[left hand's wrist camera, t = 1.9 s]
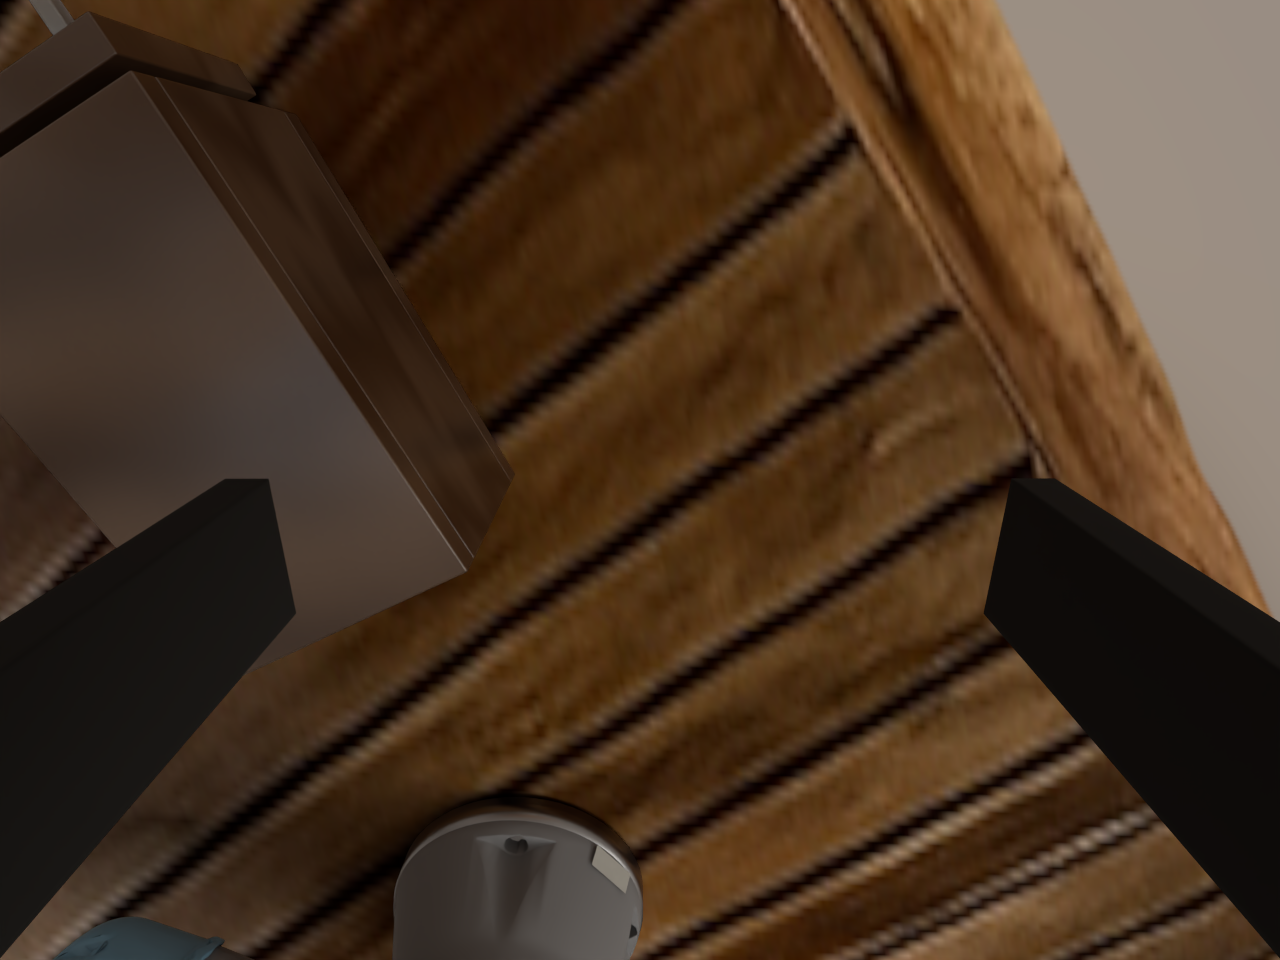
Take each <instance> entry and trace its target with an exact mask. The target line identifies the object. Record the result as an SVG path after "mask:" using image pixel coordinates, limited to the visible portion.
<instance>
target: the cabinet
mask: <svg viewBox="0 0 1280 960" xmlns="http://www.w3.org/2000/svg"><path fill="white" fill-rule="evenodd" d="M0 415H1V416H2V417H3V418H4V419H5V421H6V422H7V423H8V424H9V425H10V426H11V427H12V429H13V430H14V431H15V432H16V433H17V434H18V436H19V437H20V438H21V439H22V440H23V441H24V442H25V444H26V445H27V446H28V447H29V448H30V449H31V451H32V452H33V453H34V454H35V455H36V456H37V457H38V459H39V460H40V461H41V462H42V463H43V464H44V466H45V467H46V468H47V469H48V470H49V471H50V472H51V474H52V475H53V476H54V477H55V478H56V479H57V481H58V482H59V483H60V484H61V485H62V486H63V487H64V489H65V490H66V491H67V492H68V493H69V494H70V495H71V497H72V498H73V499H74V500H75V501H76V502H77V504H78V505H79V506H80V507H81V508H82V509H83V510H84V512H85V513H86V514H87V515H88V516H89V517H90V519H91V520H92V521H93V522H94V523H95V524H96V525H97V527H98V528H99V529H100V530H101V531H102V532H103V534H104V535H105V536H106V537H107V538H108V539H109V540H110V542H111V543H112V544H113V545H114V546H115V547H116V548H117V547H119V546H120V545H122V544H124V543H125V542H127V541H128V540H130V539H131V538H133V537H135V536H136V535H138V534H139V533H141V532H142V531H144V530H146V529H147V528H149V527H150V526H152V525H153V524H155V523H156V522H158V521H160V520H161V519H163V518H164V517H166V516H167V515H169V514H171V513H172V512H174V511H175V510H177V509H178V508H180V507H182V506H183V505H185V504H186V503H188V502H189V501H191V500H192V499H194V498H196V497H197V496H199V495H200V494H202V493H203V492H205V491H207V490H208V489H210V488H211V487H213V486H214V485H216V484H218V483H219V482H221V481H222V480H224V479H269V483H270V488H271V493H272V498H273V503H274V508H275V512H276V517H277V522H278V527H279V532H280V537H281V542H282V546H283V551H284V556H285V561H286V566H287V571H288V576H289V580H290V585H291V590H292V595H293V600H294V605H295V610H296V614H295V616H294V617H293V618H292V619H291V620H290V621H289V623H288V624H287V625H286V626H285V627H284V628H283V630H282V631H281V632H280V633H279V634H278V635H277V637H276V638H275V639H274V640H273V641H272V642H271V644H270V645H269V646H268V647H267V648H266V649H265V651H264V652H263V653H262V654H261V655H260V656H259V657H258V659H257V660H256V661H255V662H254V663H253V664H252V666H251V667H250V668H249V669H248V670H247V671H246V673H245V674H248V673H250V672H252V671H254V670H256V669H258V668H261V667H263V666H265V665H267V664H269V663H271V662H274V661H276V660H278V659H280V658H282V657H284V656H286V655H289V654H291V653H293V652H295V651H297V650H299V649H302V648H304V647H306V646H308V645H310V644H312V643H314V642H317V641H319V640H321V639H323V638H325V637H327V636H330V635H332V634H334V633H336V632H338V631H340V630H343V629H345V628H347V627H349V626H351V625H353V624H355V623H358V622H360V621H362V620H364V619H366V618H368V617H371V616H373V615H375V614H377V613H379V612H381V611H383V610H386V609H388V608H390V607H392V606H394V605H396V604H399V603H401V602H403V601H405V600H407V599H409V598H412V597H414V596H416V595H418V594H420V593H422V592H424V591H427V590H429V589H431V588H433V587H435V586H437V585H440V584H442V583H444V582H446V581H448V580H450V579H453V578H455V577H457V576H459V575H461V574H463V573H465V572H467V571H468V569H469V567H470V565H471V563H472V561H473V558H474V557H475V555H476V553H477V551H478V549H479V547H480V545H481V543H482V541H483V539H484V537H485V535H486V533H487V531H488V528H489V526H490V524H491V522H492V520H493V518H494V516H495V514H496V512H497V510H498V508H499V506H500V504H501V502H502V500H503V498H504V496H505V494H506V491H507V489H508V487H509V485H510V483H511V481H512V479H513V477H514V475H515V474H514V472H513V470H512V469H511V467H510V465H509V464H508V462H507V460H506V459H505V457H504V455H503V454H502V452H501V451H500V449H499V447H498V446H497V444H496V442H495V441H494V439H493V437H492V436H491V434H490V432H489V431H488V429H487V428H486V426H485V424H484V423H483V421H482V419H481V418H480V416H479V414H478V413H477V411H476V409H475V408H474V406H473V405H472V403H471V401H470V400H469V398H468V396H467V395H466V393H465V391H464V390H463V388H462V386H461V385H460V383H459V382H458V380H457V378H456V377H455V375H454V373H453V372H452V370H451V368H450V367H449V365H448V363H447V362H446V360H445V359H444V357H443V355H442V354H441V352H440V350H439V349H438V347H437V345H436V344H435V342H434V340H433V339H432V337H431V336H430V334H429V332H428V331H427V329H426V327H425V326H424V324H423V322H422V321H421V319H420V317H419V316H418V314H417V313H416V311H415V309H414V308H413V306H412V304H411V303H410V301H409V299H408V298H407V296H406V294H405V293H404V291H403V290H402V288H401V286H400V285H399V283H398V281H397V280H396V278H395V276H394V275H393V273H392V271H391V270H390V268H389V267H388V265H387V263H386V262H385V260H384V258H383V257H382V255H381V253H380V252H379V250H378V248H377V247H376V245H375V244H374V242H373V240H372V239H371V237H370V235H369V234H368V232H367V230H366V229H365V227H364V225H363V224H362V222H361V221H360V219H359V217H358V216H357V214H356V212H355V211H354V209H353V207H352V206H351V204H350V202H349V201H348V199H347V198H346V196H345V194H344V193H343V191H342V189H341V188H340V186H339V184H338V183H337V181H336V179H335V178H334V176H333V175H332V173H331V171H330V170H329V168H328V166H327V165H326V163H325V161H324V160H323V158H322V156H321V155H320V153H319V152H318V150H317V148H316V147H315V145H314V143H313V142H312V140H311V138H310V137H309V135H308V133H307V132H306V130H305V129H304V127H303V125H302V124H301V122H300V120H299V119H298V117H297V115H295V114H292V113H289V112H285V111H281V110H278V109H274V108H270V107H266V106H263V105H259V104H255V103H252V102H248V101H244V100H240V99H237V98H233V97H229V96H226V95H222V94H218V93H214V92H211V91H207V90H203V89H200V88H196V87H192V86H189V85H185V84H181V83H177V82H174V81H170V80H166V79H163V78H159V77H153V76H150V75H147V74H143V73H139V72H136V71H128V72H127V73H125V74H124V75H122V76H121V77H120V78H118V79H117V80H115V81H114V82H112V83H111V84H109V85H108V86H106V87H105V88H103V89H102V90H100V91H99V92H97V93H96V94H94V95H93V96H91V97H90V98H88V99H87V100H85V101H84V102H82V103H81V104H79V105H78V106H76V107H75V108H73V109H72V110H70V111H69V112H67V113H66V114H64V115H63V116H62V117H60V118H59V119H57V120H56V121H54V122H53V123H51V124H50V125H48V126H47V127H45V128H44V129H42V130H41V131H39V132H38V133H36V134H35V135H33V136H32V137H30V138H29V139H27V140H26V141H24V142H23V143H21V144H20V145H18V146H17V147H15V148H14V149H12V150H11V151H9V152H8V153H6V154H5V155H3V156H2V157H1V158H0ZM245 674H244V675H245Z"/></svg>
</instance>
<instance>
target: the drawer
mask: <svg viewBox="0 0 1280 960" xmlns="http://www.w3.org/2000/svg"><path fill="white" fill-rule="evenodd" d="M29 1H30V3H31V4H32V6H33V7H34V8H35V10H36V11H37V13H38V14H39V16H40V17H41V18H42V20H43V21H44V23H45V24H46V26H47V27H48V28H49V30H50V31H51V33H52V34H53V36H52V37H50V38H49V39H47V40H46V41H45V42H43V43H42V44H40V45H39V46H37V47H36V48H35V49H33V50H32V51H30V52H29V53H27V54H26V55H25V56H23V57H22V58H20V59H19V60H18V61H16V62H15V63H13V64H12V65H10V66H9V67H8V68H6V69H5V70H3V71H2V72H0V158H1V157H2V156H3V155H5V154H6V153H8V152H9V151H11V150H12V149H14V148H15V147H17V146H18V145H20V144H21V143H23V142H24V141H26V140H27V139H29V138H30V137H32V136H33V135H35V134H36V133H38V132H39V131H41V130H42V129H44V128H45V127H47V126H48V125H50V124H51V123H53V122H54V121H56V120H57V119H59V118H60V117H62V116H63V115H64V114H66V113H67V112H69V111H70V110H72V109H73V108H75V107H76V106H78V105H79V104H81V103H82V102H84V101H85V100H87V99H88V98H90V97H91V96H93V95H94V94H96V93H97V92H99V91H100V90H102V89H103V88H105V87H106V86H108V85H109V84H111V83H112V82H114V81H115V80H117V79H118V78H120V77H121V76H122V75H124V74H125V73H127V72H128V71H136V72H139V73H143V74H147V75H150V76H153V77H159V78H163V79H166V80H170V81H174V82H177V83H181V84H185V85H189V86H192V87H196V88H200V89H203V90H207V91H211V92H214V93H218V94H222V95H226V96H229V97H233V98H237V99H240V100H244V101H248V100H249V99H251V98H252V97H254V96H255V95H256V93H255V91H254V90H253V88H252V87H251V85H250V83H249V82H248V80H247V79H246V77H245V75H244V74H243V72H242V70H241V69H240V67H239V66H238V64H236V63H233V62H230V61H227V60H224V59H221V58H219V57H216V56H213V55H210V54H207V53H205V52H202V51H199V50H196V49H193V48H190V47H188V46H185V45H182V44H179V43H176V42H174V41H171V40H168V39H165V38H162V37H159V36H157V35H154V34H151V33H148V32H145V31H142V30H140V29H137V28H134V27H131V26H128V25H126V24H123V23H120V22H117V21H114V20H111V19H109V18H106V17H103V16H100V15H97V14H95V13H92V12H86V13H85V14H83V15H82V16H80V17H79V18H77V19H76V20H75V21H74V19H73V18H72V16H71V15H70V13H69V12H68V11H67V9H66V8H65V6H64V5H63V3H62V2H61V0H29Z"/></svg>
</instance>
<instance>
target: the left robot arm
mask: <svg viewBox="0 0 1280 960" xmlns="http://www.w3.org/2000/svg"><path fill="white" fill-rule="evenodd" d="M295 614H296V610H295V605H294V600H293V595H292V590H291V585H290V580H289V576H288V571H287V566H286V561H285V556H284V551H283V546H282V542H281V537H280V532H279V527H278V522H277V517H276V512H275V508H274V503H273V498H272V493H271V488H270V483H269V479H224V480H222V481H221V482H219V483H218V484H216V485H214V486H213V487H211V488H210V489H208V490H207V491H205V492H203V493H202V494H200V495H199V496H197V497H196V498H194V499H192V500H191V501H189V502H188V503H186V504H185V505H183V506H182V507H180V508H178V509H177V510H175V511H174V512H172V513H171V514H169V515H167V516H166V517H164V518H163V519H161V520H160V521H158V522H156V523H155V524H153V525H152V526H150V527H149V528H147V529H146V530H144V531H142V532H141V533H139V534H138V535H136V536H135V537H133V538H131V539H130V540H128V541H127V542H125V543H124V544H122V545H120V546H119V547H117V548H116V549H114V550H113V551H111V552H110V553H108V554H106V555H105V556H103V557H102V558H100V559H99V560H97V561H95V562H94V563H92V564H91V565H89V566H88V567H86V568H84V569H83V570H81V571H80V572H78V573H77V574H75V575H74V576H72V577H70V578H69V579H67V580H66V581H64V582H63V583H61V584H59V585H58V586H56V587H55V588H53V589H52V590H50V591H49V592H47V593H45V594H44V595H42V596H41V597H39V598H38V599H36V600H34V601H33V602H31V603H30V604H28V605H27V606H25V607H23V608H22V609H20V610H19V611H17V612H16V613H14V614H13V615H11V616H9V617H8V618H6V619H5V620H3V621H2V622H0V958H1V957H2V955H3V954H4V953H5V952H6V951H7V950H8V948H9V947H10V946H11V945H12V944H13V943H14V941H15V940H16V939H17V938H18V937H19V936H20V934H21V933H22V932H23V931H24V930H25V929H26V927H27V926H28V925H29V924H30V923H31V922H32V920H33V919H34V918H35V917H36V916H37V915H38V913H39V912H40V911H41V910H42V909H43V908H44V907H45V905H46V904H47V903H48V902H49V901H50V900H51V898H52V897H53V896H54V895H55V894H56V893H57V891H58V890H59V889H60V888H61V887H62V886H63V884H64V883H65V882H66V881H67V880H68V879H69V877H70V876H71V875H72V874H73V873H74V872H75V870H76V869H77V868H78V867H79V866H80V865H81V863H82V862H83V861H84V860H85V859H86V858H87V856H88V855H89V854H90V853H91V852H92V851H93V849H94V848H95V847H96V846H97V845H98V844H99V843H100V841H101V840H102V839H103V838H104V837H105V836H106V834H107V833H108V832H109V831H110V830H111V829H112V827H113V826H114V825H115V824H116V823H117V822H118V820H119V819H120V818H121V817H122V816H123V815H124V813H125V812H126V811H127V810H128V809H129V808H130V806H131V805H132V804H133V803H134V802H135V801H136V799H137V798H138V797H139V796H140V795H141V794H142V792H143V791H144V790H145V789H146V788H147V787H148V785H149V784H150V783H151V782H152V781H153V780H154V779H155V777H156V776H157V775H158V774H159V773H160V772H161V770H162V769H163V768H164V767H165V766H166V765H167V763H168V762H169V761H170V760H171V759H172V758H173V756H174V755H175V754H176V753H177V752H178V751H179V749H180V748H181V747H182V746H183V745H184V744H185V742H186V741H187V740H188V739H189V738H190V737H191V735H192V734H193V733H194V732H195V731H196V730H197V728H198V727H199V726H200V725H201V724H202V723H203V721H204V720H205V719H206V718H207V717H208V716H209V715H210V713H211V712H212V711H213V710H214V709H215V708H216V706H217V705H218V704H219V703H220V702H221V701H222V699H223V698H224V697H225V696H226V695H227V694H228V692H229V691H230V690H231V689H232V688H233V687H234V685H235V684H236V683H237V682H238V681H239V680H240V678H241V677H242V676H243V675H244V674H245V673H246V671H247V670H248V669H249V668H250V667H251V666H252V664H253V663H254V662H255V661H256V660H257V659H258V657H259V656H260V655H261V654H262V653H263V652H264V651H265V649H266V648H267V647H268V646H269V645H270V644H271V642H272V641H273V640H274V639H275V638H276V637H277V635H278V634H279V633H280V632H281V631H282V630H283V628H284V627H285V626H286V625H287V624H288V623H289V621H290V620H291V619H292V618H293V617H294V616H295ZM984 614H985V616H986V617H987V618H988V619H989V620H990V621H991V623H992V624H993V625H994V626H995V627H996V628H997V630H998V631H999V632H1000V633H1001V634H1002V635H1003V637H1004V638H1005V639H1006V640H1007V641H1008V642H1009V644H1010V645H1011V646H1012V647H1013V648H1014V649H1015V651H1016V652H1017V653H1018V654H1019V655H1020V656H1021V657H1022V659H1023V660H1024V661H1025V662H1026V663H1027V664H1028V666H1029V667H1030V668H1031V669H1032V670H1033V671H1034V673H1035V674H1036V675H1037V676H1038V677H1039V678H1040V680H1041V681H1042V682H1043V683H1044V684H1045V685H1046V687H1047V688H1048V689H1049V690H1050V691H1051V692H1052V694H1053V695H1054V696H1055V697H1056V698H1057V699H1058V701H1059V702H1060V703H1061V704H1062V705H1063V706H1064V708H1065V709H1066V710H1067V711H1068V712H1069V713H1070V715H1071V716H1072V717H1073V718H1074V719H1075V720H1076V721H1077V723H1078V724H1079V725H1080V726H1081V727H1082V728H1083V730H1084V731H1085V732H1086V733H1087V734H1088V735H1089V737H1090V738H1091V739H1092V740H1093V741H1094V742H1095V744H1096V745H1097V746H1098V747H1099V748H1100V749H1101V751H1102V752H1103V753H1104V754H1105V755H1106V756H1107V758H1108V759H1109V760H1110V761H1111V762H1112V763H1113V765H1114V766H1115V767H1116V768H1117V769H1118V770H1119V772H1120V773H1121V774H1122V775H1123V776H1124V777H1125V779H1126V780H1127V781H1128V782H1129V783H1130V784H1131V785H1132V787H1133V788H1134V789H1135V790H1136V791H1137V792H1138V794H1139V795H1140V796H1141V797H1142V798H1143V799H1144V801H1145V802H1146V803H1147V804H1148V805H1149V806H1150V808H1151V809H1152V810H1153V811H1154V812H1155V813H1156V815H1157V816H1158V817H1159V818H1160V819H1161V820H1162V822H1163V823H1164V824H1165V825H1166V826H1167V827H1168V829H1169V830H1170V831H1171V832H1172V833H1173V834H1174V836H1175V837H1176V838H1177V839H1178V840H1179V841H1180V843H1181V844H1182V845H1183V846H1184V847H1185V848H1186V849H1187V851H1188V852H1189V853H1190V854H1191V855H1192V856H1193V858H1194V859H1195V860H1196V861H1197V862H1198V863H1199V865H1200V866H1201V867H1202V868H1203V869H1204V870H1205V872H1206V873H1207V874H1208V875H1209V876H1210V877H1211V879H1212V880H1213V881H1214V882H1215V883H1216V884H1217V886H1218V887H1219V888H1220V889H1221V890H1222V891H1223V893H1224V894H1225V895H1226V896H1227V897H1228V898H1229V900H1230V901H1231V902H1232V903H1233V904H1234V905H1235V907H1236V908H1237V909H1238V910H1239V911H1240V912H1241V913H1242V915H1243V916H1244V917H1245V918H1246V919H1247V920H1248V922H1249V923H1250V924H1251V925H1252V926H1253V927H1254V929H1255V930H1256V931H1257V932H1258V933H1259V934H1260V936H1261V937H1262V938H1263V939H1264V940H1265V941H1266V943H1267V944H1268V945H1269V946H1270V947H1271V948H1272V950H1273V951H1274V952H1275V953H1276V954H1277V955H1278V957H1279V958H1280V622H1278V621H1277V620H1275V619H1274V618H1272V617H1271V616H1269V615H1267V614H1266V613H1264V612H1263V611H1261V610H1260V609H1258V608H1257V607H1255V606H1253V605H1252V604H1250V603H1249V602H1247V601H1246V600H1244V599H1242V598H1241V597H1239V596H1238V595H1236V594H1235V593H1233V592H1231V591H1230V590H1228V589H1227V588H1225V587H1224V586H1222V585H1221V584H1219V583H1217V582H1216V581H1214V580H1213V579H1211V578H1210V577H1208V576H1206V575H1205V574H1203V573H1202V572H1200V571H1199V570H1197V569H1195V568H1194V567H1192V566H1191V565H1189V564H1188V563H1186V562H1185V561H1183V560H1181V559H1180V558H1178V557H1177V556H1175V555H1174V554H1172V553H1170V552H1169V551H1167V550H1166V549H1164V548H1163V547H1161V546H1160V545H1158V544H1156V543H1155V542H1153V541H1152V540H1150V539H1149V538H1147V537H1145V536H1144V535H1142V534H1141V533H1139V532H1138V531H1136V530H1134V529H1133V528H1131V527H1130V526H1128V525H1127V524H1125V523H1124V522H1122V521H1120V520H1119V519H1117V518H1116V517H1114V516H1113V515H1111V514H1109V513H1108V512H1106V511H1105V510H1103V509H1102V508H1100V507H1098V506H1097V505H1095V504H1094V503H1092V502H1091V501H1089V500H1088V499H1086V498H1084V497H1083V496H1081V495H1080V494H1078V493H1077V492H1075V491H1073V490H1072V489H1070V488H1069V487H1067V486H1066V485H1064V484H1062V483H1061V482H1059V481H1058V480H1056V479H1011V483H1010V488H1009V493H1008V498H1007V503H1006V508H1005V512H1004V517H1003V522H1002V527H1001V532H1000V537H999V542H998V546H997V551H996V556H995V561H994V566H993V571H992V576H991V580H990V585H989V590H988V595H987V600H986V605H985V610H984ZM393 912H394V937H393V960H630V957H631V955H632V953H633V951H634V948H635V946H636V943H637V940H638V936H639V933H640V929H641V925H642V919H643V883H642V876H641V872H640V869H639V866H638V863H637V861H636V859H635V857H634V855H633V853H632V852H631V850H630V849H629V848H628V846H627V845H626V844H625V842H624V841H623V840H622V839H621V838H620V837H619V836H618V835H617V834H616V833H615V832H614V831H613V830H612V829H610V828H609V827H608V826H606V825H605V824H604V823H602V822H601V821H599V820H597V819H596V818H594V817H593V816H591V815H589V814H587V813H585V812H583V811H580V810H578V809H576V808H573V807H570V806H567V805H564V804H561V803H557V802H553V801H549V800H544V799H538V798H528V797H500V798H492V799H485V800H481V801H476V802H472V803H469V804H466V805H463V806H460V807H458V808H455V809H453V810H451V811H449V812H447V813H445V814H443V815H442V816H440V817H439V818H437V819H436V820H434V821H433V822H432V823H430V824H429V825H428V826H427V827H426V828H425V829H424V830H423V831H422V832H421V833H420V834H419V835H418V836H417V838H416V839H415V840H414V842H413V843H412V845H411V847H410V848H409V850H408V853H407V855H406V858H405V860H404V863H403V866H402V869H401V871H400V874H399V877H398V880H397V883H396V887H395V892H394V903H393ZM224 941H225V940H224V939H222V938H219V937H212V938H209V939H205V938H202V937H199V936H196V935H194V934H191V933H188V932H185V931H182V930H179V929H176V928H173V927H170V926H167V925H164V924H161V923H158V922H155V921H152V920H149V919H146V918H141V917H123V918H118V919H114V920H110V921H107V922H105V923H102V924H100V925H98V926H96V927H94V928H93V929H91V930H89V931H88V932H86V933H85V934H83V935H82V936H81V937H79V938H78V939H76V940H75V941H74V942H73V943H71V944H70V945H69V946H68V947H66V948H65V949H64V950H63V951H62V952H61V953H60V954H59V955H57V956H56V957H55V958H54V959H53V960H254V959H251V958H249V957H246V956H244V955H241V954H239V953H236V952H234V951H231V950H229V949H227V948H224V947H222V946H221V945H222V944H223V943H224Z"/></svg>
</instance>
